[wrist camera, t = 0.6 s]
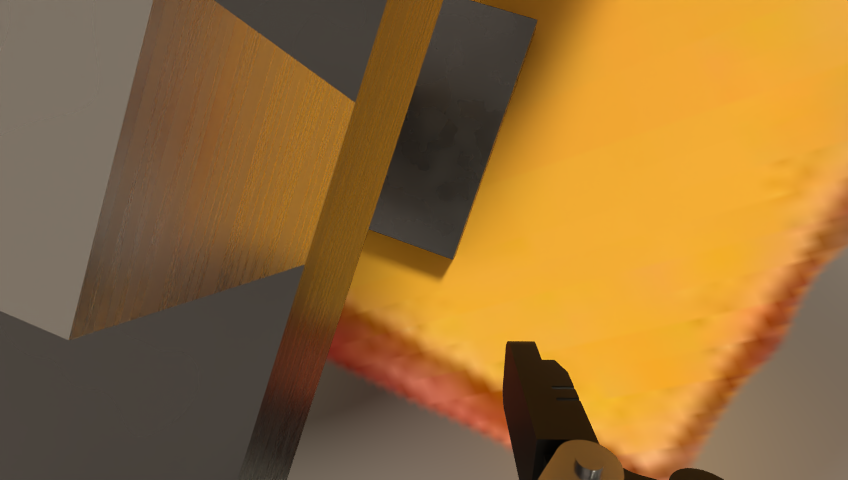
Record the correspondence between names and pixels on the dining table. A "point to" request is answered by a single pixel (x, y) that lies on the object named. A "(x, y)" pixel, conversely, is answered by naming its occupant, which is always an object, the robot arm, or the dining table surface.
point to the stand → (216, 211)
